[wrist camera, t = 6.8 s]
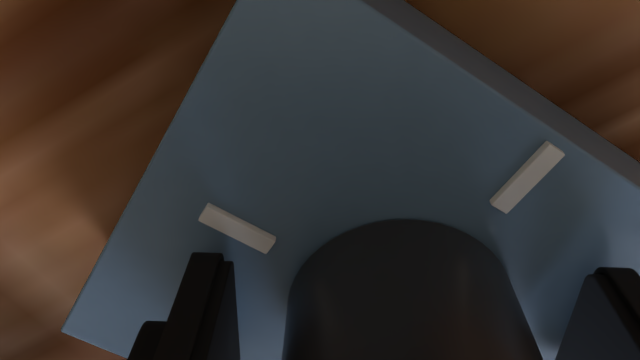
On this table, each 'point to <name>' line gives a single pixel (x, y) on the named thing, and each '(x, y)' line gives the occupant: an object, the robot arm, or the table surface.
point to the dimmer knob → (405, 299)
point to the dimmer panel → (358, 170)
